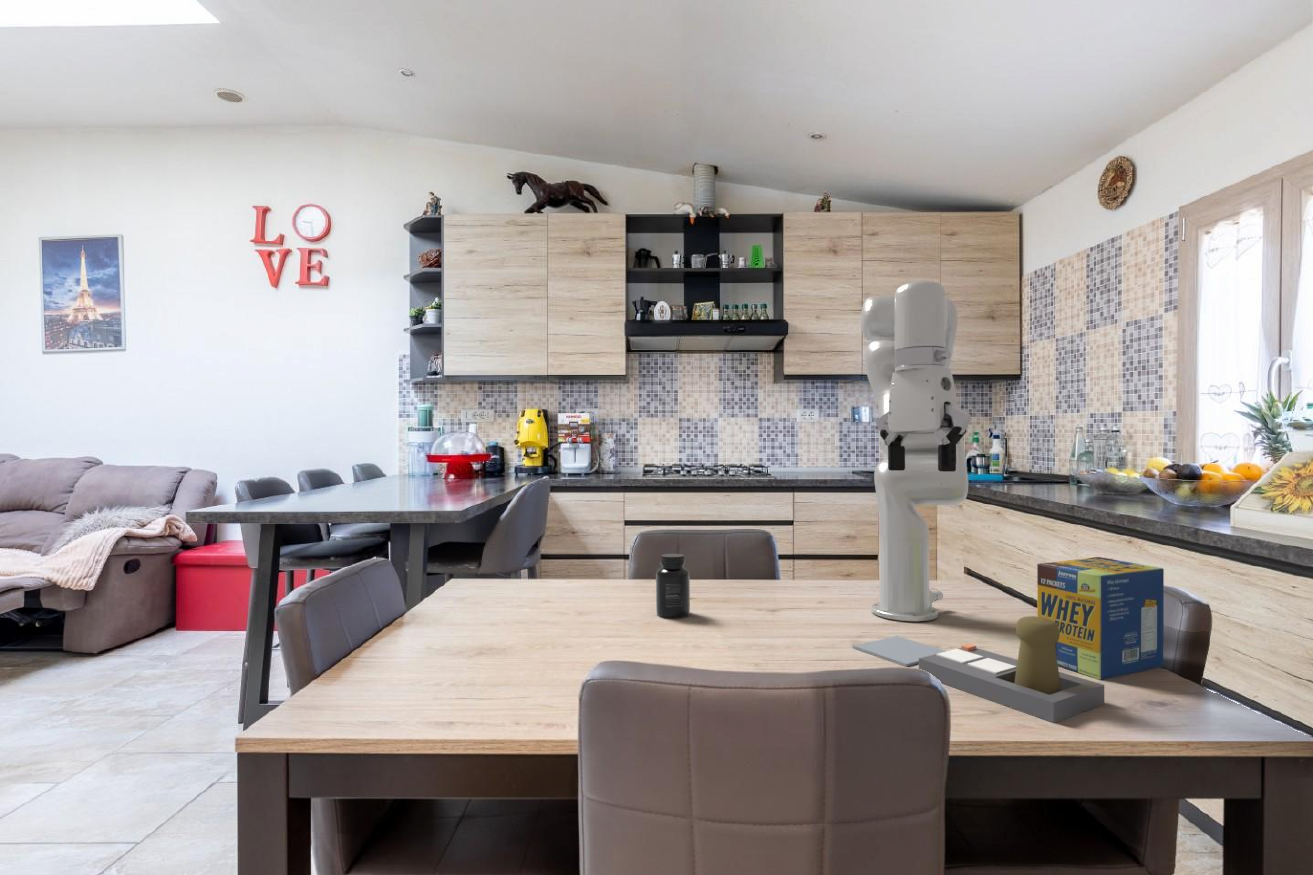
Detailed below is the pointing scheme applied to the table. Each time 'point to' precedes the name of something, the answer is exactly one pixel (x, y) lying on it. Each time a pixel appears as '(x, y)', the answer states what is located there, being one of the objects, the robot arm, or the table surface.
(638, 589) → the table surface
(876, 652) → the slate mat
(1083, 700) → the grey compartment tray
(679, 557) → the supplement bottle
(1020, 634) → the cork
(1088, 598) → the protein box
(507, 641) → the table surface
